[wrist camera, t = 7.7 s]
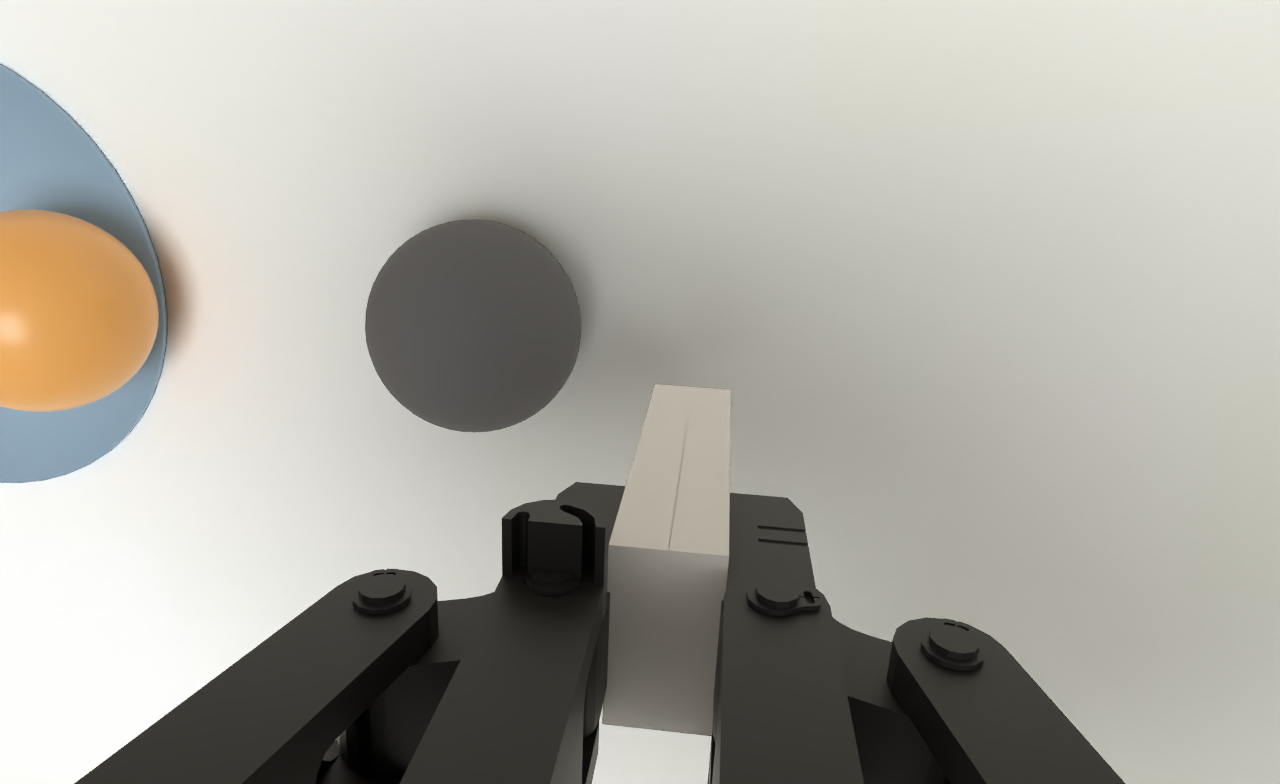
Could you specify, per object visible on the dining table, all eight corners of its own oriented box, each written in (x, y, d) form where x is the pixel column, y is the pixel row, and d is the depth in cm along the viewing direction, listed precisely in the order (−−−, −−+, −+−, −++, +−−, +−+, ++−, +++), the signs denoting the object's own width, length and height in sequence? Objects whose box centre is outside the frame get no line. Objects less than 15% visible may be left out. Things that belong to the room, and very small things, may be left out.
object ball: (-163, 362, 19) (-133, 309, 23) (81, 476, 22) (69, 412, 26) (8, 175, 19) (7, 157, 23) (217, 313, 23) (184, 276, 27)
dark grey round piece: (300, 358, 18) (331, 294, 23) (475, 510, 21) (470, 421, 26) (483, 191, 18) (475, 161, 23) (642, 364, 20) (603, 303, 25)
